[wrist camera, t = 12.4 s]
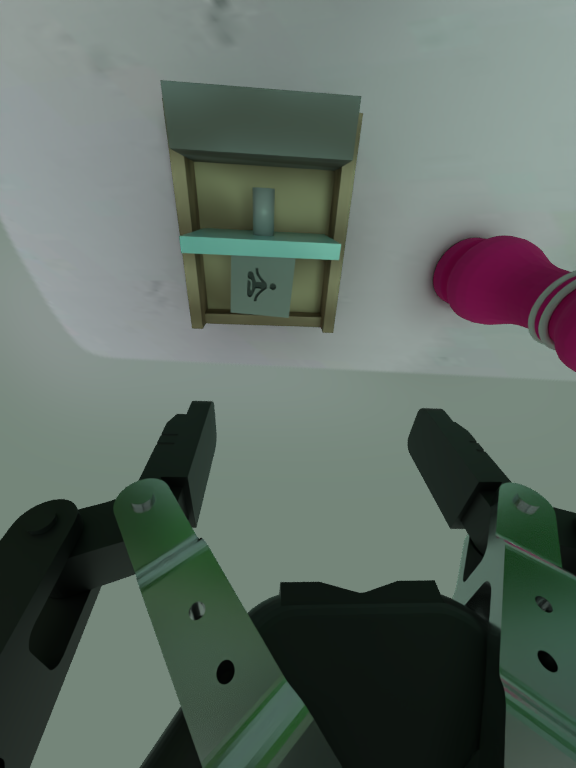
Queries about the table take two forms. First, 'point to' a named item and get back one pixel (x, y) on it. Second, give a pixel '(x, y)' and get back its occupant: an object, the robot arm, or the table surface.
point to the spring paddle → (261, 237)
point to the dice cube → (261, 285)
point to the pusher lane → (262, 185)
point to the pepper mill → (511, 290)
